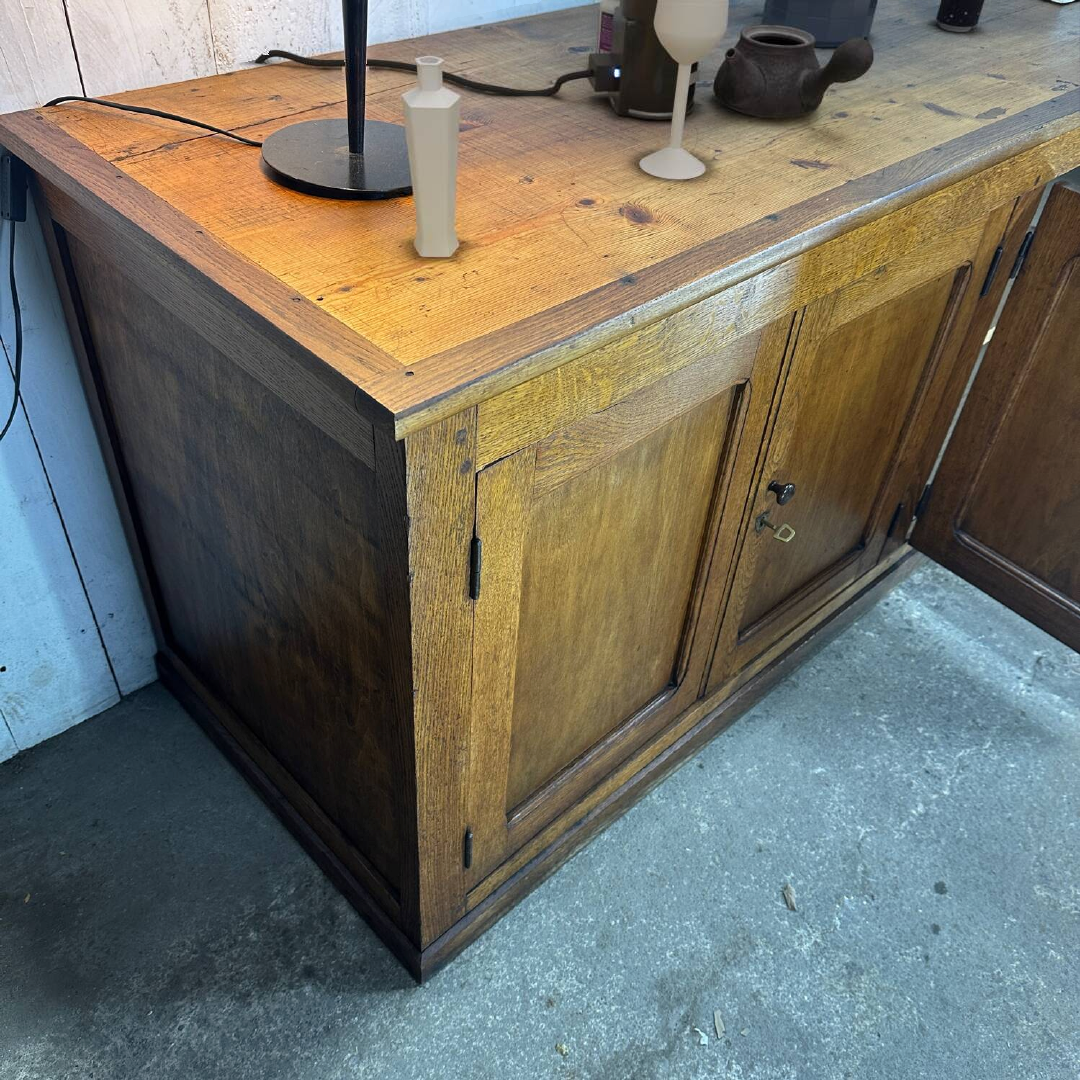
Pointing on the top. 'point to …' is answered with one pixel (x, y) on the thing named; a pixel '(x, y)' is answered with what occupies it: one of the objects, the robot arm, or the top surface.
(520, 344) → the top surface
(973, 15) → the beverage can
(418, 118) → the beige faceted vase
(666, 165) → the champagne flute
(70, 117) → the top surface
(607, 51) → the pill bottle
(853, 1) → the bowl
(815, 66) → the teapot
